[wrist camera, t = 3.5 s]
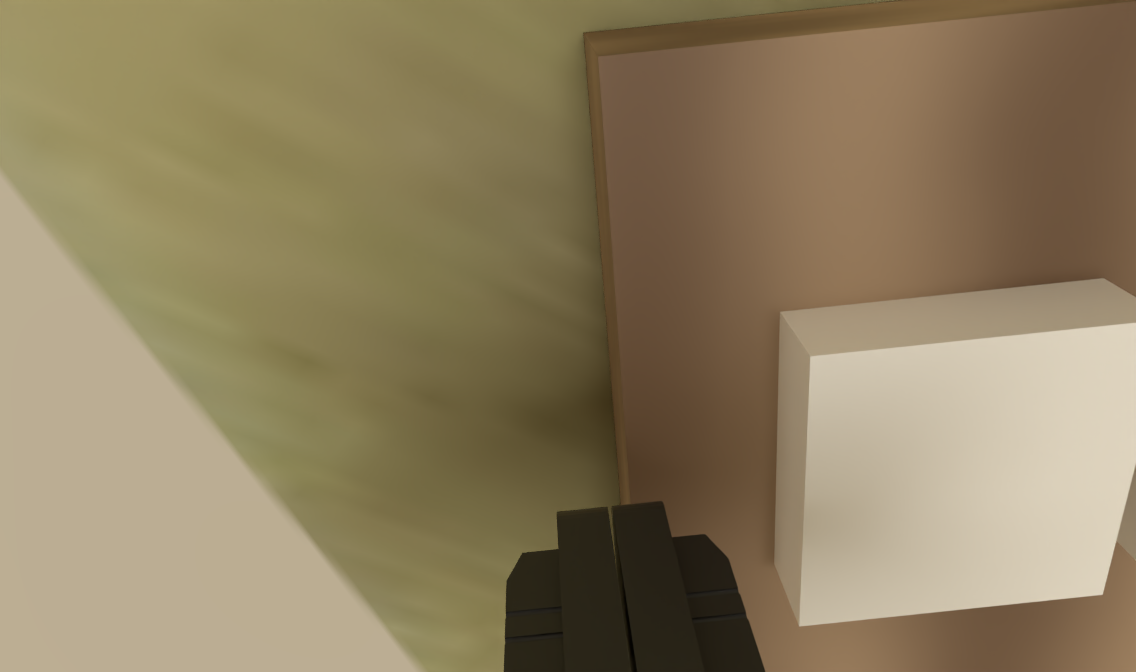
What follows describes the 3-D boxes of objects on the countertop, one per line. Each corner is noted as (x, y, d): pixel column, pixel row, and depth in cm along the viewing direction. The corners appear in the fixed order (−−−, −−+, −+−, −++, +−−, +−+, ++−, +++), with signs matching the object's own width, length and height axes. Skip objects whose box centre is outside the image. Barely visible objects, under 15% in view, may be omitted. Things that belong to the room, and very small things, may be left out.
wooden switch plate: (1455, -57, 14) (1684, -56, 11) (1245, 555, 19) (1362, 655, 17) (583, 32, 14) (598, 56, 11) (630, 619, 19) (647, 730, 17)
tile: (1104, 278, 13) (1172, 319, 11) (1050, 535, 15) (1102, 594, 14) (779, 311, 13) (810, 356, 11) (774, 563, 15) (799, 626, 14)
